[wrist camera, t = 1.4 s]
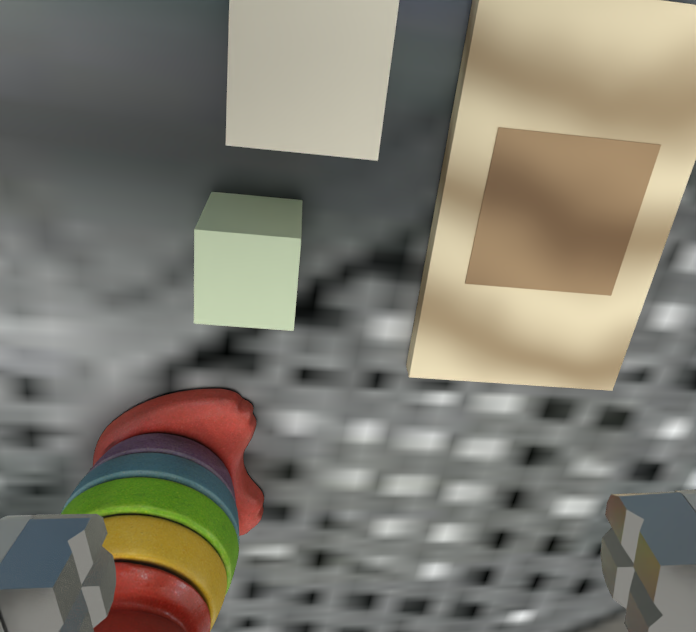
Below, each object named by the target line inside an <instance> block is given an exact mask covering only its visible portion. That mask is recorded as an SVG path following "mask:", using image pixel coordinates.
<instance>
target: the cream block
mask: <svg viewBox="0 0 696 632" xmlns="http://www.w3.org/2000/svg"><path fill="white" fill-rule="evenodd" d="M398 7H399V0H229V34H228V72H227V110H226V145H227V146H237V147H247V148H257V149H267V150H277V151H287V152H297V153H307V154H317V155H327V156H336V157H346V158H356V159H366V160H376V161H378V155H379V148H380V140H381V133H382V125H383V118H384V111H385V103H386V96H387V88H388V81H389V74H390V66H391V59H392V51H393V44H394V36H395V29H396V22H397V14H398Z"/></svg>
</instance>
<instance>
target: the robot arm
mask: <svg viewBox="0 0 696 632" xmlns="http://www.w3.org/2000/svg"><path fill="white" fill-rule="evenodd" d="M605 515H606V517H607V519H608V521H609V523H610V525H611V527H612V528H611V529H610V530H609V531H608V532H607V533H606V534H605V535H604V536H603V537H602V545H601V562H602V571H603V575H604V578H605V582H606V585H607V587H608V589H609V592H610V594H611V596H612V598H613V599H614V600H615V601H616V602H618V603H619V604H620V605H622V606H623V607H625V608H626V616H625V622H624V623H625V625H626V627H627V629H628V631H629V632H696V490H680V491H675V492H656V493H633V494H611V496H610V498H609V500H608V502H607V507H606V514H605ZM107 534H108V533H107V530H106V526H105V523H104V519H103V517H101V516H100V515H98V514H50V515H36V516H35V515H18V516H6V517H4V518H2V519H0V632H94V629H93V628H94V627H95V626H97V625H98V624H99V623H100V622H101V621H103V620H104V619H105V618H106V617H107V616H108V613H109V610H110V608H111V605H112V603H113V599H114V593H115V587H116V567H115V562H114V558H113V555H112V554H111V553H110V552H108V551H107V550H106V549H105V548H104V547H103V546H102V544H103V542H104V540H105V538H106V536H107Z"/></svg>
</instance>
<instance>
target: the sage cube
mask: <svg viewBox="0 0 696 632" xmlns="http://www.w3.org/2000/svg"><path fill="white" fill-rule="evenodd" d="M301 235H302V200H296V199H285V198H274V197H264V196H253V195H242V194H231V193H221V192H211V194H210V196H209V198H208V201H207V203H206V205H205V207H204V209H203V212H202V214H201V216H200V218H199V220H198V223H197V225H196V227H195V229H194V324H207V325H221V326H235V327H249V328H262V329H276V330H290V331H294V320H295V308H296V296H297V285H298V273H299V261H300V249H301Z"/></svg>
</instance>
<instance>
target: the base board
mask: <svg viewBox="0 0 696 632" xmlns="http://www.w3.org/2000/svg"><path fill="white" fill-rule="evenodd" d="M695 160H696V5H693V4H686V3H678V2H670V1H663V0H472V6H471V11H470V17H469V22H468V28H467V33H466V39H465V44H464V50H463V55H462V61H461V66H460V72H459V77H458V83H457V88H456V94H455V100H454V105H453V111H452V116H451V122H450V127H449V133H448V138H447V144H446V149H445V155H444V160H443V166H442V171H441V177H440V182H439V188H438V193H437V199H436V204H435V210H434V215H433V221H432V226H431V232H430V237H429V243H428V248H427V254H426V259H425V265H424V270H423V276H422V281H421V287H420V292H419V298H418V303H417V309H416V314H415V320H414V325H413V331H412V336H411V342H410V347H409V353H408V358H407V364H406V367H407V371H408V375H409V377H414V378H429V379H444V380H459V381H475V382H490V383H505V384H520V385H535V386H550V387H565V388H581V389H596V390H611V391H612V390H613V387H614V384H615V382H616V379H617V376H618V373H619V371H620V368H621V365H622V362H623V359H624V357H625V354H626V351H627V348H628V346H629V343H630V340H631V337H632V335H633V332H634V329H635V326H636V323H637V321H638V318H639V315H640V312H641V310H642V307H643V304H644V301H645V298H646V296H647V293H648V290H649V287H650V285H651V282H652V279H653V276H654V273H655V271H656V268H657V265H658V262H659V260H660V257H661V254H662V251H663V248H664V246H665V243H666V240H667V237H668V235H669V232H670V229H671V226H672V224H673V221H674V218H675V215H676V212H677V210H678V207H679V204H680V201H681V199H682V196H683V193H684V190H685V187H686V185H687V182H688V179H689V176H690V174H691V171H692V168H693V165H694V162H695Z"/></svg>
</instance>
